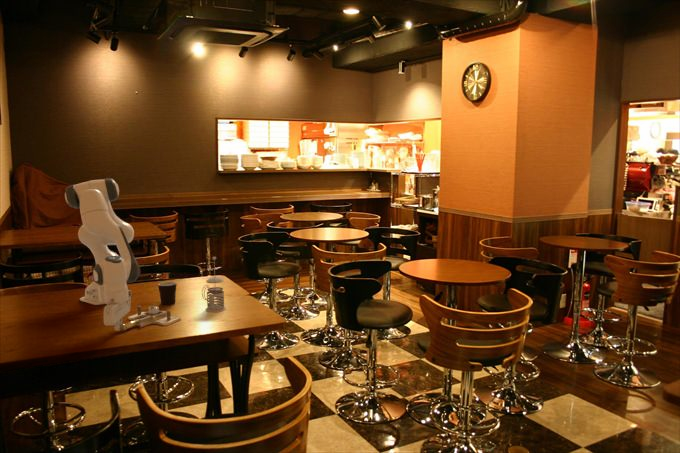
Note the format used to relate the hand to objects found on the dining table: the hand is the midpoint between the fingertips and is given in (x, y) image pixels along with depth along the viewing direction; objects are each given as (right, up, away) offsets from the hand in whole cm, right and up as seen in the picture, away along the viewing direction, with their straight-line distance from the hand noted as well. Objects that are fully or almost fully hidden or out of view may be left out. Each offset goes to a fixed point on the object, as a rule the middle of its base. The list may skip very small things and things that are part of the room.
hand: (118, 329), depth 226 cm
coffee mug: (+7, +4, +45) cm, 46 cm away
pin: (+3, -1, +6) cm, 7 cm away
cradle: (+7, +1, +15) cm, 17 cm away
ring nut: (+9, +2, +18) cm, 20 cm away
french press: (+32, +3, +33) cm, 46 cm away
